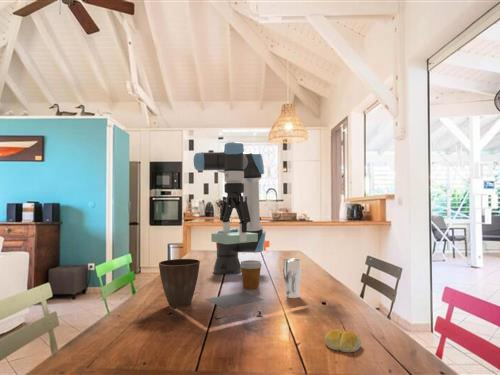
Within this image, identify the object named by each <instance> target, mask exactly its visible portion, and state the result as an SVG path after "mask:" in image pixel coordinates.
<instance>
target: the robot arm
mask: <svg viewBox="0 0 500 375" xmlns="http://www.w3.org/2000/svg"><path fill="white" fill-rule="evenodd" d="M223 149H224V150H223V151H214V152H213V151H212V152H211V151H210V152H209V151H208V152H196V153H194V155H193V168H194V169H195V170H196V171H203V172H204V171H217V173H221V174H223V177H224V182H225V183H224V189H223V190H224V193H225V194H226V196H222V204H221V208H220V210H221V211H220V216H219V220H220V221H222V225H223V226H222V229H221V230H220V229H219V230H218V231H217V232H216V233H229V232H239V242H244V241H247V232H249V233H257V234H258V241H257V242H246V243H235V244H222V243H217V242H216V259H215V261H214V265H213V273H214V274H219V275H235V274H239V273H242V272H241V267H240V264H241V262H240V260H239V253H251V254H253V253H254V254H256V253H262V252H263V251H264V249H265V242H266V233H267V232H266V230H264V228H263V226H262V225H261V223H260V222H261V220H260V219H261V218H260V184H259V183H260V182H259V181H260V180H261V179H262V175H264V174H265V166H264V159H263V156H262V154H261V153H260V152H258V151H255V152H254V151H249V152H248V151H247V152H246V151H245V148H244V143H243V142H239V141H238V142H237V141H233V142H232V141H230V142H225V144H224V148H223ZM234 209H235V210H236V214H237V216H238V219H239V223H238V226H239V228H238V227H235V228H231V220H230V219H231V216H232V212H233V210H234Z"/></svg>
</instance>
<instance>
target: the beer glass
mask: <svg viewBox="0 0 500 375" xmlns="http://www.w3.org/2000/svg"><path fill="white" fill-rule="evenodd" d="M282 269H283V270H282V272H283V279H284V286H285V294H284V296H285V297H286V298H290V299H296V298H301V295H300V283H301V277H302V264H301V259H300V258H290V257H289V258H284V259H283V268H282Z"/></svg>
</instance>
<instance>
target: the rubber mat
mask: <svg viewBox="0 0 500 375" xmlns="http://www.w3.org/2000/svg"><path fill="white" fill-rule="evenodd" d="M205 300H206V301H207V302H210V303H212V304H214V305H216V306H218V307H220V308H222V309H226V308H231V307H236V306H241V305H246V304H247V305H248V304H252V303H256V302H260V301H265V300H266V299H264V298H261V297H259V296H256V295H254V294H252V293H249V292H246V291H241V292H236V293H231V294H225V295H221V296H214V297H210V298H205Z"/></svg>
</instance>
